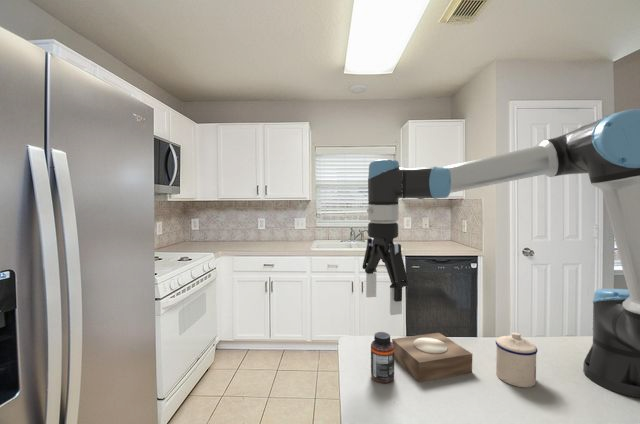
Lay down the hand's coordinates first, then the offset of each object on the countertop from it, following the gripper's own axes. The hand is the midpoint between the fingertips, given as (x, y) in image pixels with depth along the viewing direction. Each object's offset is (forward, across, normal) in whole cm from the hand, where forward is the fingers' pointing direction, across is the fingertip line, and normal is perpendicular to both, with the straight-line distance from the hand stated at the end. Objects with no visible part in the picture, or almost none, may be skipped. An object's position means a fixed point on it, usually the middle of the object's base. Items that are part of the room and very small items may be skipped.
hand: (382, 304), depth 80 cm
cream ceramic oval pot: (+19, +8, +33) cm, 39 cm away
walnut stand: (+19, -3, +16) cm, 25 cm away
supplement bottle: (+19, 0, 0) cm, 19 cm away
